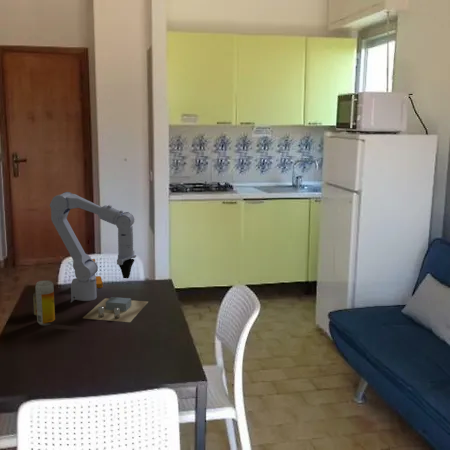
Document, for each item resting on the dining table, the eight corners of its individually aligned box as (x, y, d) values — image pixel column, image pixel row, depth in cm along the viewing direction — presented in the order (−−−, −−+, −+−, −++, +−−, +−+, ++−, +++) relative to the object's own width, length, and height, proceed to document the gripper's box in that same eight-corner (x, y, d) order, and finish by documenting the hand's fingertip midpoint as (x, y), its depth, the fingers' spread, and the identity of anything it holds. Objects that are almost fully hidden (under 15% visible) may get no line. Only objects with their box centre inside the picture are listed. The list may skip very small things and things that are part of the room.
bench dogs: (97, 317, 206) (97, 308, 205) (99, 315, 208) (99, 306, 207) (118, 319, 205) (118, 309, 204) (120, 317, 207) (120, 307, 206)
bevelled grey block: (105, 309, 214) (105, 302, 213) (111, 304, 220) (111, 296, 219) (126, 311, 213) (125, 303, 212) (131, 305, 218) (131, 298, 218)
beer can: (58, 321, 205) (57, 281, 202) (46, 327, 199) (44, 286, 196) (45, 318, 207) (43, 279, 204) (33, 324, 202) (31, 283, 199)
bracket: (103, 289, 241) (102, 262, 238) (85, 290, 239) (84, 263, 236) (100, 281, 251) (99, 255, 248) (83, 283, 249) (82, 256, 246)
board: (82, 321, 205) (82, 318, 205) (105, 301, 226) (105, 298, 226) (130, 325, 202) (130, 322, 202) (148, 304, 224) (148, 301, 223)
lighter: (32, 315, 210) (31, 290, 207) (35, 312, 213) (33, 286, 211) (52, 315, 210) (51, 289, 208) (54, 311, 214) (53, 286, 212)
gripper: (129, 249, 212) (129, 284, 215) (141, 240, 226) (141, 273, 229) (111, 248, 213) (112, 282, 216) (124, 239, 227) (125, 271, 230)
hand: (126, 277), depth 223 cm, fingers closed
